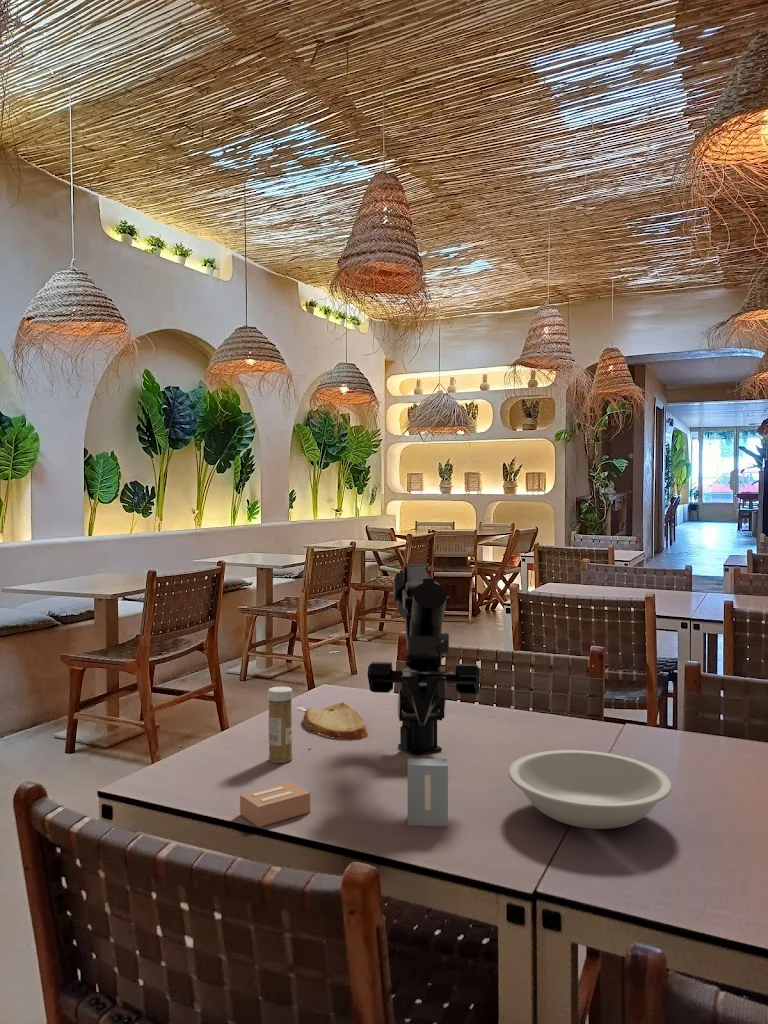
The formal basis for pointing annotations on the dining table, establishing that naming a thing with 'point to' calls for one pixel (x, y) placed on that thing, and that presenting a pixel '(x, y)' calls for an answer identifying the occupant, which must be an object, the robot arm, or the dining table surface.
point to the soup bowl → (590, 787)
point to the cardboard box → (274, 803)
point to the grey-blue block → (428, 792)
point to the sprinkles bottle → (280, 724)
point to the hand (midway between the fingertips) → (421, 723)
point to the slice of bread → (336, 722)
